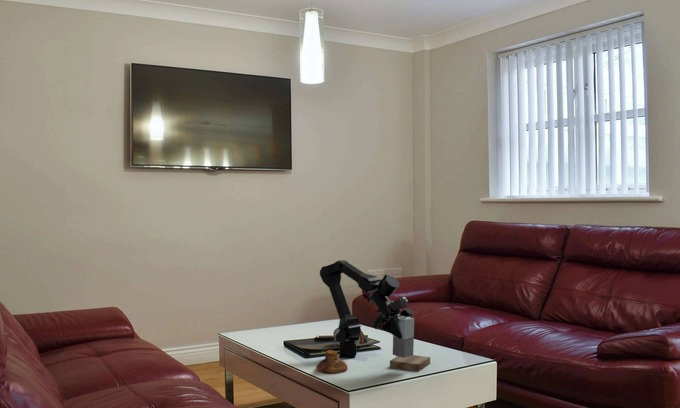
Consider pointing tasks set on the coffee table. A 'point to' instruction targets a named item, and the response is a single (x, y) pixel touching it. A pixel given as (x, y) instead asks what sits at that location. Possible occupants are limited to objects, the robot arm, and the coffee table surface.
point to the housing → (404, 337)
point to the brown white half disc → (360, 341)
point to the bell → (331, 364)
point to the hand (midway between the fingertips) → (405, 336)
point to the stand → (410, 362)
